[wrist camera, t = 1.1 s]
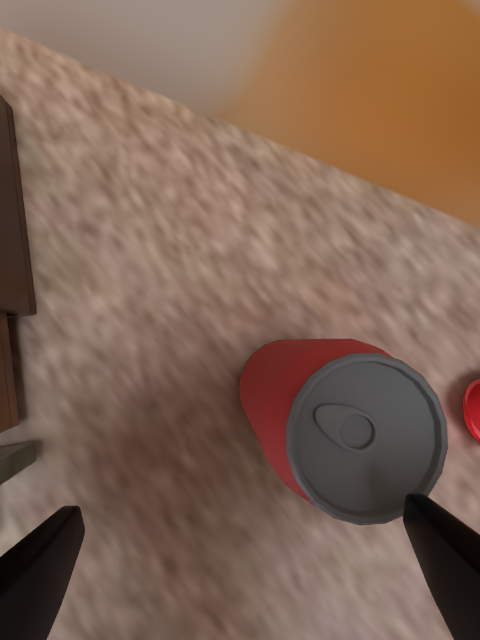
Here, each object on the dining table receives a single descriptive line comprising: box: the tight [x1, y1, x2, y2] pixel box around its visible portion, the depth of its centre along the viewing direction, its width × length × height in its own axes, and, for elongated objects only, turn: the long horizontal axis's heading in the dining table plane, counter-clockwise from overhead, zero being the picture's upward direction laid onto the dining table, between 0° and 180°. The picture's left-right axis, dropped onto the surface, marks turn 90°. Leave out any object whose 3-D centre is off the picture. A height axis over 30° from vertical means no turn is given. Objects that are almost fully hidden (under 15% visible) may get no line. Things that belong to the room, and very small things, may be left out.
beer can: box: [240, 339, 448, 525], centre depth 16 cm, size 7×7×12 cm
